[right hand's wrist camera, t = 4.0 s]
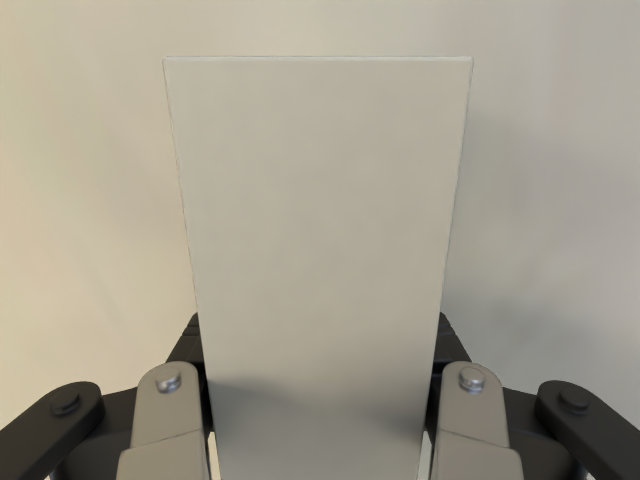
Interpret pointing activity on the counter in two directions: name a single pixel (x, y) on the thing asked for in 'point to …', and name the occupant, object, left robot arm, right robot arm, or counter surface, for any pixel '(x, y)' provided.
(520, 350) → the counter surface
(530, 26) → the counter surface
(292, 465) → the beam
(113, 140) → the counter surface
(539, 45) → the counter surface
